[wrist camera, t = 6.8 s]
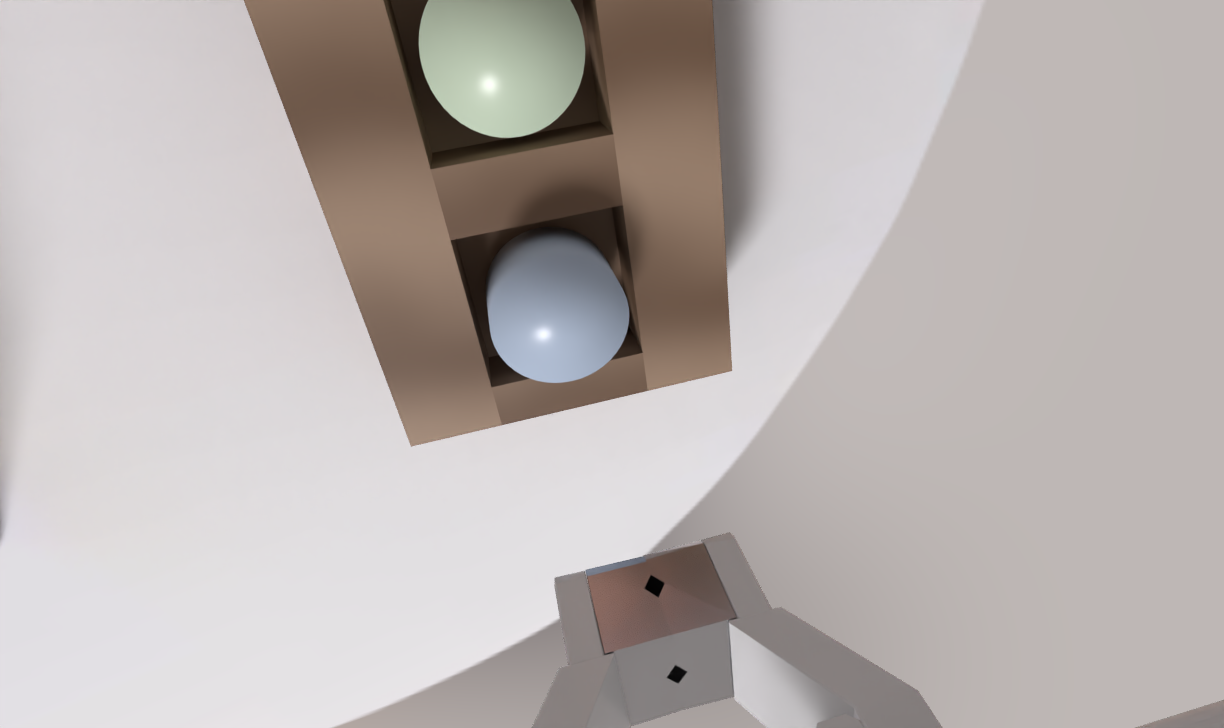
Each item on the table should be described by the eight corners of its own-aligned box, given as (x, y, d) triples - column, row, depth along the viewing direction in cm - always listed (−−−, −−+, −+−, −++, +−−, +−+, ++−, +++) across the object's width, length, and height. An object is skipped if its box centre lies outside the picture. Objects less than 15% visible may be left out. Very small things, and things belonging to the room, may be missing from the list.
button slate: (471, 241, 20) (474, 272, 18) (602, 214, 20) (619, 242, 18) (501, 355, 22) (506, 396, 20) (619, 329, 23) (637, 365, 20)
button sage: (403, -28, 17) (396, -29, 15) (556, -53, 18) (570, -57, 16) (444, 131, 19) (444, 151, 17) (580, 106, 20) (596, 122, 18)
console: (109, -500, 14) (-1, -654, 11) (624, -543, 15) (674, -693, 12) (416, 383, 25) (411, 446, 22) (695, 320, 26) (732, 370, 23)
